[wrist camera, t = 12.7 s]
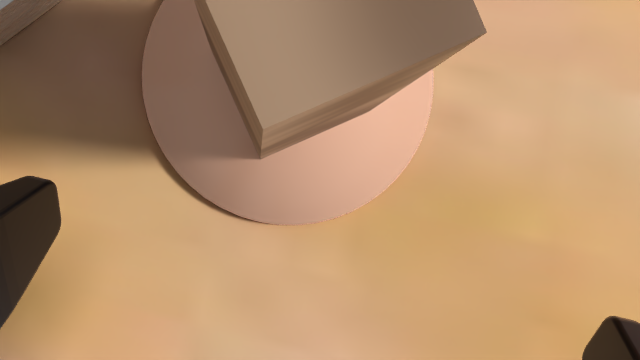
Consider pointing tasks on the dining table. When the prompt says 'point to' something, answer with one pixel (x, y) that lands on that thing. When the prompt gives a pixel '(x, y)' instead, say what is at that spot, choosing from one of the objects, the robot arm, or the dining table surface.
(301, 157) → the terracotta coaster
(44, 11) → the metal collar stand
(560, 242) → the dining table surface
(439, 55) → the walnut block
